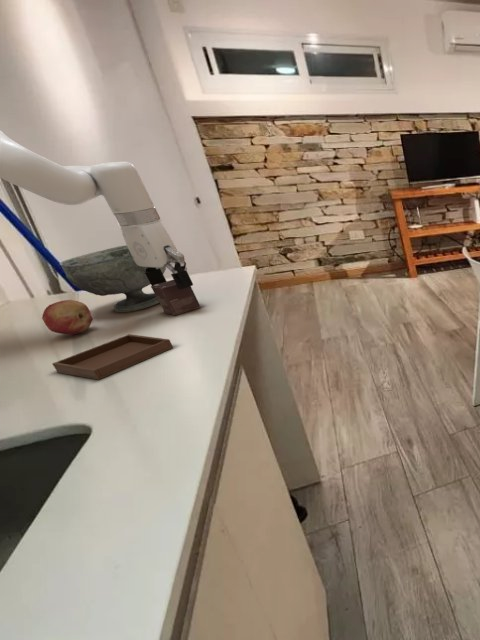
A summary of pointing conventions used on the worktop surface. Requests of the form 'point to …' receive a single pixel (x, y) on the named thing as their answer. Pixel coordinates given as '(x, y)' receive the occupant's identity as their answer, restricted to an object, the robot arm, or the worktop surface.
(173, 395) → the worktop surface
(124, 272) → the bowl
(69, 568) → the worktop surface
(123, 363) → the desk tray
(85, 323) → the fruit
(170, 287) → the box
